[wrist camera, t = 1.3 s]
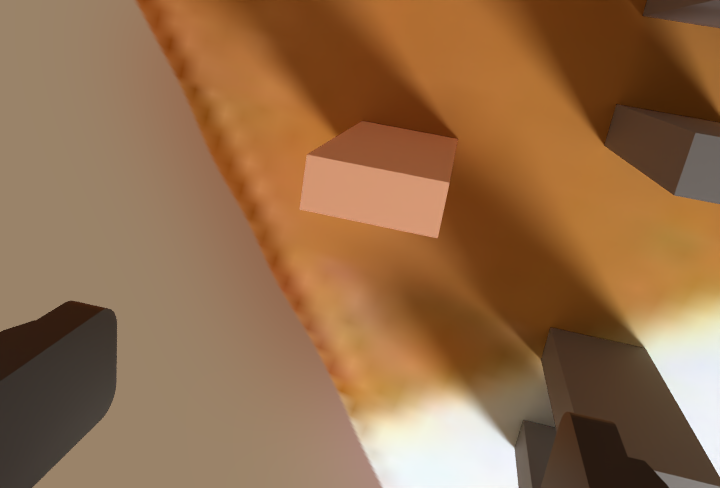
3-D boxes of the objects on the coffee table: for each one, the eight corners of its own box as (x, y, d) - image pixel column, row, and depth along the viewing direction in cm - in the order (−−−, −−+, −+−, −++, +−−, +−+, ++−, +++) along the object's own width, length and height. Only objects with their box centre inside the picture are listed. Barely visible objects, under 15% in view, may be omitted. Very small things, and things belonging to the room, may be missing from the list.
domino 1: (362, 120, 31) (306, 154, 21) (457, 138, 31) (449, 182, 20) (356, 158, 32) (299, 209, 22) (449, 177, 31) (437, 238, 21)
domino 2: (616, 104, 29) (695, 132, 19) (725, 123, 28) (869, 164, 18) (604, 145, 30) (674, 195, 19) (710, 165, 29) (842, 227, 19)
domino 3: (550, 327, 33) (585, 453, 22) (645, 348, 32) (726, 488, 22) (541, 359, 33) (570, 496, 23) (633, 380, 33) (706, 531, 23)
